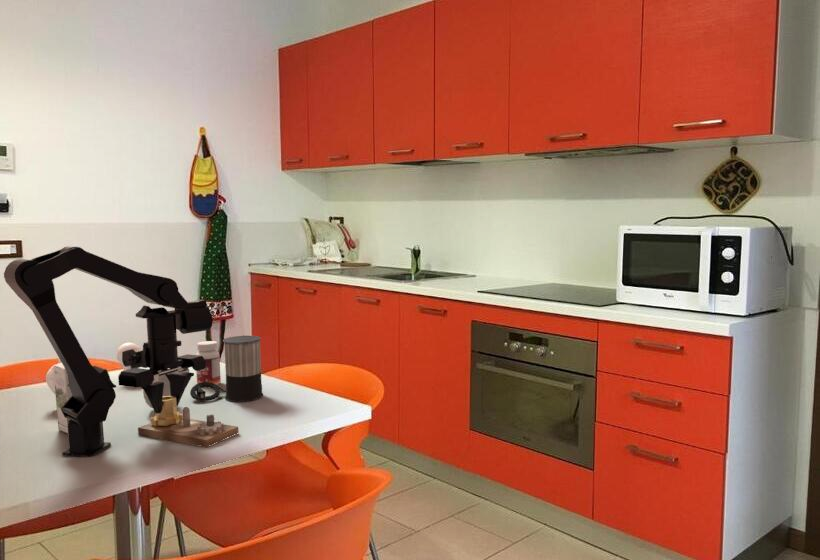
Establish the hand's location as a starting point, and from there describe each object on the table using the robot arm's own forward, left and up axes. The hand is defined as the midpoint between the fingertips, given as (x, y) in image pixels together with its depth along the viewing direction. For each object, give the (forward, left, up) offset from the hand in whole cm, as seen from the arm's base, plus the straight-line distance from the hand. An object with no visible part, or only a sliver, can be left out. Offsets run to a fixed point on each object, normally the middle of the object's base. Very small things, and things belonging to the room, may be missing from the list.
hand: (166, 410), depth 144 cm
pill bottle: (+39, +8, -5) cm, 40 cm away
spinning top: (+16, +34, -5) cm, 38 cm away
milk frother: (+26, -3, -5) cm, 26 cm away
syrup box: (-1, +20, -5) cm, 20 cm away
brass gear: (0, 0, -2) cm, 2 cm away
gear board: (-2, -6, -4) cm, 7 cm away
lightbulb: (+40, +31, -5) cm, 51 cm away
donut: (+16, +10, -5) cm, 19 cm away
